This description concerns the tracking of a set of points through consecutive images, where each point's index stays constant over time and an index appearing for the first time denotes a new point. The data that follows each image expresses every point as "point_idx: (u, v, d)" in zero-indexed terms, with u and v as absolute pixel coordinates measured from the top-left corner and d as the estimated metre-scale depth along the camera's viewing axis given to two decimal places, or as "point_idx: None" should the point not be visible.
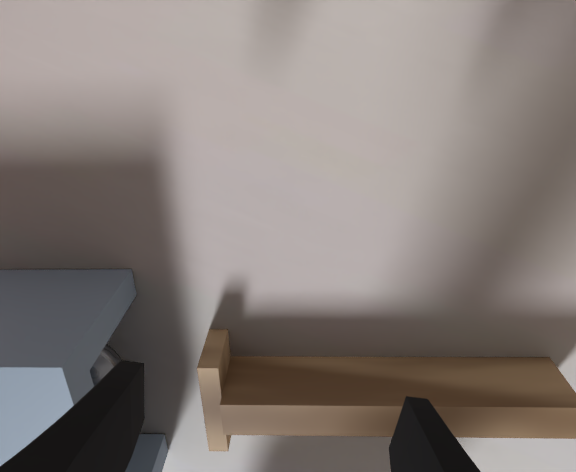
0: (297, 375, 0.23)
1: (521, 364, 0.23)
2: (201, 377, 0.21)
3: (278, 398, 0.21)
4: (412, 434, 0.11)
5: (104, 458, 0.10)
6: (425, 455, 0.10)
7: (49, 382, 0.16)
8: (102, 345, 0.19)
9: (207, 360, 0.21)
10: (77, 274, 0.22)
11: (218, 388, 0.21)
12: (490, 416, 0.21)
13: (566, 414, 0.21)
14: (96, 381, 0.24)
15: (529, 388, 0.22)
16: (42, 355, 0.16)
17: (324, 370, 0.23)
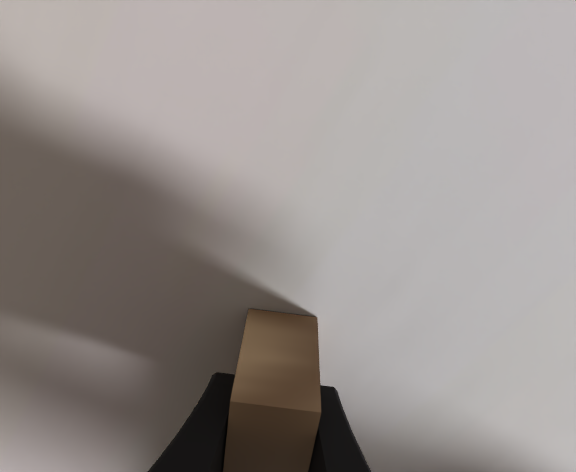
0: None
1: None
2: None
3: None
4: None
5: (217, 471, 0.10)
6: (316, 441, 0.10)
7: None
8: None
9: None
10: None
11: None
12: None
13: (247, 429, 0.10)
14: None
15: None
16: None
17: None
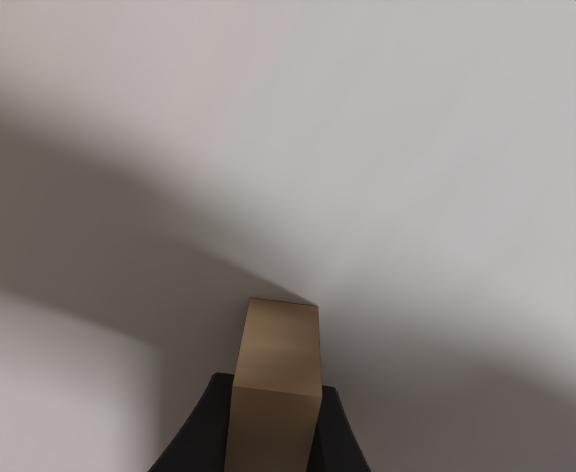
0: None
1: None
2: None
3: None
4: None
5: (217, 471, 0.10)
6: (316, 442, 0.10)
7: None
8: None
9: None
10: None
11: None
12: None
13: (249, 414, 0.10)
14: None
15: None
16: None
17: None
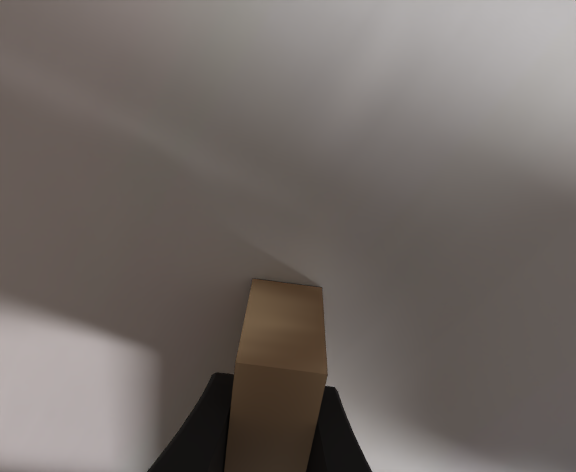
0: None
1: None
2: None
3: None
4: None
5: (217, 471, 0.10)
6: (316, 442, 0.10)
7: None
8: None
9: None
10: None
11: None
12: None
13: (252, 392, 0.10)
14: None
15: None
16: None
17: None
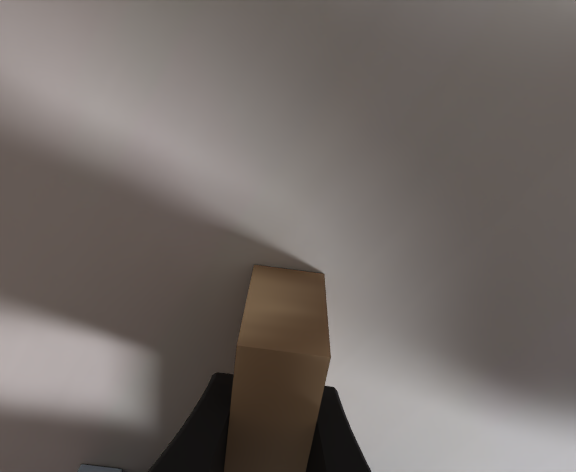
0: None
1: None
2: None
3: None
4: None
5: (217, 471, 0.10)
6: (316, 442, 0.10)
7: None
8: None
9: None
10: None
11: None
12: None
13: (254, 376, 0.10)
14: None
15: None
16: None
17: None
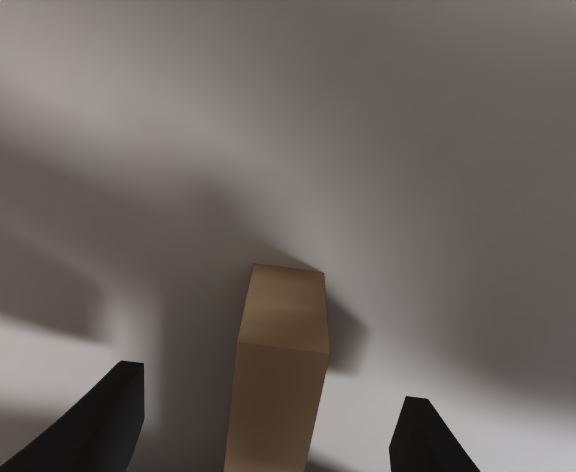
0: None
1: None
2: None
3: None
4: (412, 434, 0.11)
5: (104, 458, 0.10)
6: (425, 455, 0.10)
7: None
8: None
9: None
10: None
11: None
12: None
13: (253, 373, 0.10)
14: None
15: None
16: None
17: None
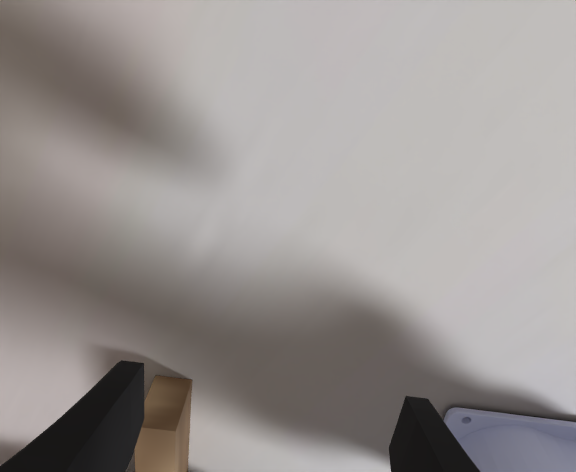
0: None
1: None
2: None
3: None
4: (412, 434, 0.11)
5: (104, 458, 0.10)
6: (425, 455, 0.10)
7: None
8: None
9: None
10: None
11: None
12: None
13: (143, 439, 0.22)
14: None
15: None
16: None
17: None
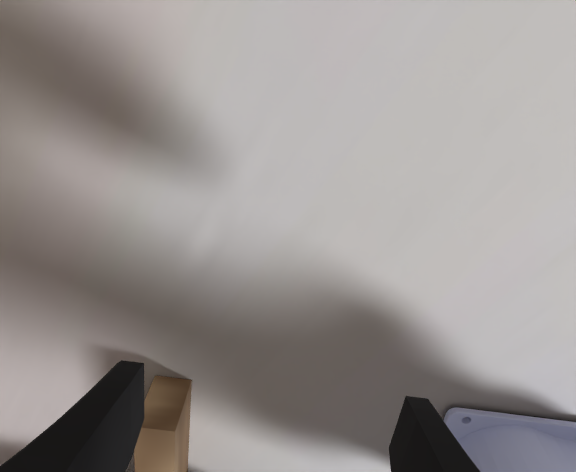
0: None
1: None
2: None
3: None
4: (412, 434, 0.11)
5: (104, 458, 0.10)
6: (425, 455, 0.10)
7: None
8: None
9: None
10: None
11: None
12: None
13: (142, 439, 0.22)
14: None
15: None
16: None
17: None
